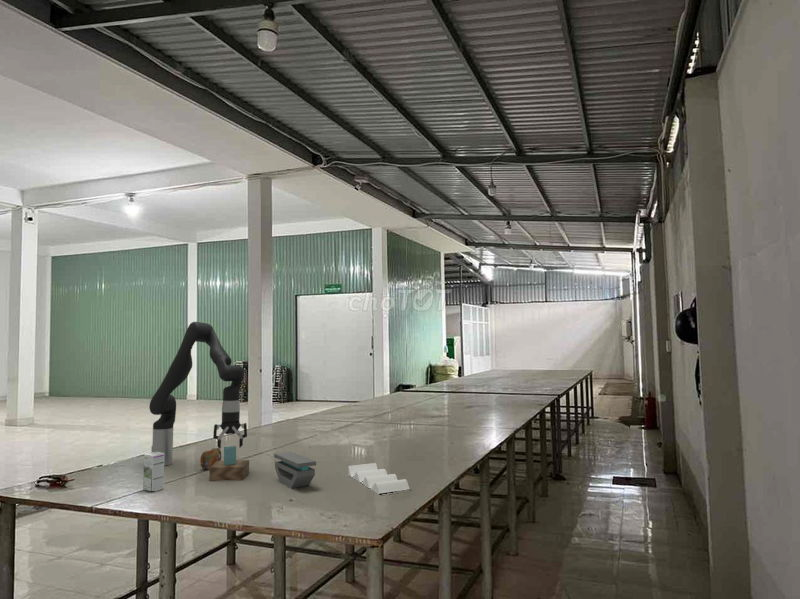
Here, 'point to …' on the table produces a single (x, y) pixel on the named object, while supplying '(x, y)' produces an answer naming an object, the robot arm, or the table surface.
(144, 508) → the table surface
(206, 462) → the tin
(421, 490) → the table surface
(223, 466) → the walnut block
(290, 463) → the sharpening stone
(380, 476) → the white corrugated sheet
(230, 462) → the teal block
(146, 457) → the syrup box
